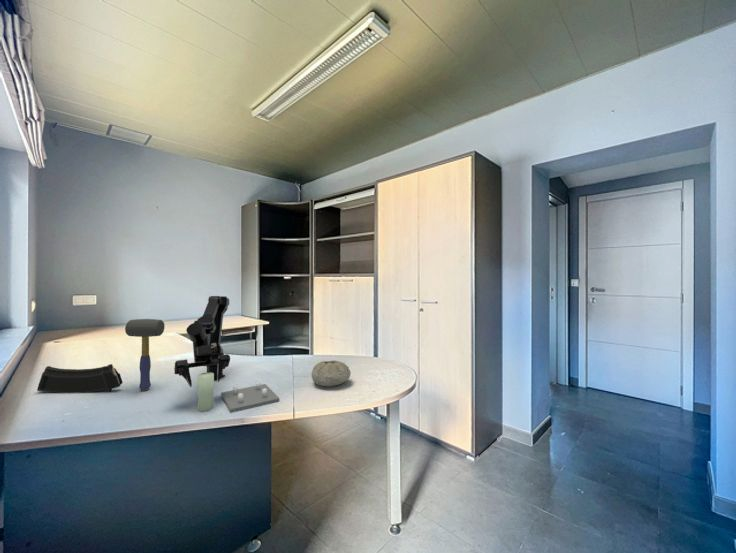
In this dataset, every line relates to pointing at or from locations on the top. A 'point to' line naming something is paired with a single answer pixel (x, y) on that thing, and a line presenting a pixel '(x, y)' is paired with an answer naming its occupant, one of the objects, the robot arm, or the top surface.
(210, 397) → the post
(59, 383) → the magazine
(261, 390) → the peg board
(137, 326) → the rubber mallet
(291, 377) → the top surface
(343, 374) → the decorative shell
